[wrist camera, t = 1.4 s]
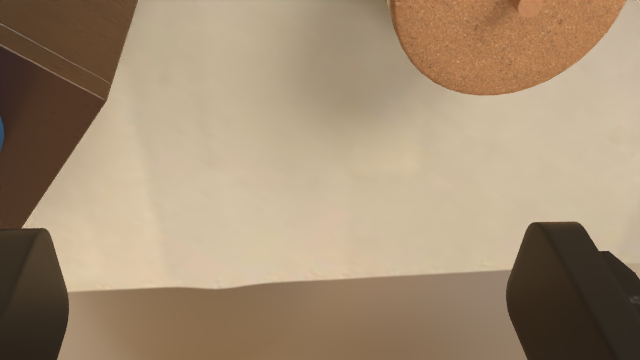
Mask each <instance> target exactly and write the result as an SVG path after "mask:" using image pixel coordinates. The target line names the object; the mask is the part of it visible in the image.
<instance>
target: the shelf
mask: <svg viewBox="0 0 640 360" xmlns="http://www.w3.org/2000/svg"><path fill="white" fill-rule="evenodd" d="M137 2H138V0H0V116H1V119H2V123H3V127H4V143H3V147H2V150H1V152H0V229H21V228H22V227H23V225H24V224H25V222H26V221H27V219H28V218H29V216H30V215H31V213H32V212H33V210H34V209H35V207H36V206H37V204H38V203H39V201H40V200H41V198H42V197H43V195H44V194H45V192H46V191H47V189H48V188H49V186H50V185H51V183H52V182H53V180H54V179H55V177H56V176H57V174H58V173H59V171H60V170H61V168H62V167H63V165H64V164H65V162H66V161H67V159H68V158H69V156H70V155H71V153H72V152H73V150H74V149H75V147H76V146H77V144H78V143H79V141H80V140H81V138H82V137H83V135H84V134H85V132H86V131H87V129H88V128H89V126H90V125H91V123H92V122H93V120H94V119H95V117H96V116H97V114H98V113H99V111H100V110H101V108H102V107H103V105H104V104H105V102H106V101H107V98H108V95H109V91H110V88H111V85H112V82H113V79H114V76H115V72H116V69H117V66H118V63H119V60H120V56H121V53H122V50H123V47H124V43H125V40H126V37H127V34H128V31H129V27H130V24H131V21H132V18H133V15H134V11H135V8H136V5H137Z"/></svg>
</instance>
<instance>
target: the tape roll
mask: <svg viewBox="0 0 640 360" xmlns="http://www.w3.org/2000/svg"><path fill="white" fill-rule="evenodd" d="M3 143H4V127H3V123H2V119H1V116H0V152H1V150H2V147H3Z"/></svg>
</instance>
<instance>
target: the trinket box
mask: <svg viewBox="0 0 640 360" xmlns="http://www.w3.org/2000/svg"><path fill="white" fill-rule="evenodd" d="M625 2H626V0H387V4H388V8H389V11H390V14H391V16H392V21H393V26H394V29H395V31H396V34H397V36H398V39H399V41H400V44H401V46H402V48H403V50H404V51H405V53H406V54H407V56H408V58H409V59H410V61H411V62H412V63H413V64H414V65H415V66H416V67H417V69H418V70H419V71H420V72H421V73H422V74H424V75H425V76H426V77H428V78H429V79H431V80H432V81H433V82H435V83H437V84H439V85H441V86H443V87H445V88H447V89H450V90H454V91H457V92H460V93H465V94H472V95H500V94H506V93H514V92H517V91H520V90H524V89H527V88H530V87H533V86H535V85H538V84H540V83H543V82H545V81H548V80H549V79H551V78H553V77H554V76H556V75H558V74H560V73H561V72H563V71H565V70H566V69H567V68H569V67H570V66H572V65H573V64H575V63H576V62H577V61H579V60H580V59H581V58H582V57H583V56H584V55H585V54H586V53H588V52H589V51H590V50H591V49H592V48H593V47H594V46H595V45H596V44H597V43H598V41H599V40H600V39H601V38H602V37H603V36H604V35H605V34H606V33H607V31H608V30H609V28H610V27H611V25H612V24H613V22H614V21H615V19H616V18H617V16H618V15H619V13H620V11H621V9H622V7H623V6H624V4H625Z"/></svg>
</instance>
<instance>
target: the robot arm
mask: <svg viewBox="0 0 640 360" xmlns="http://www.w3.org/2000/svg"><path fill="white" fill-rule="evenodd" d="M506 301H507V308H508V312H509V316H510V319H511V321H512V324H513V326H514V328H515V331H516V333H517V335H518V338H519V340H520V343H521V345H522V347H523V350H524V352H525V354H526V357H527V359H528V360H640V279H639V278H638V277H637V275H636V274H635V273H634V272H633V271H632V270H631V269H630V268H628V267H627V266H626V265H625V264H624V263H622V262H621V261H620V260H619V259H618V258H616V257H615V256H614V255H613V254H612V253H610V252H609V251H599V250H598V249H597V247H596V246H595V244H594V243H593V241H592V239H591V238H590V236H589V235H588V233H587V232H586V230H585V229H584V227H583V226H582V225H581V224H580V223H578V222H534V223H531V224H530V225H529V226H528V228H527V230H526V232H525V235H524V238H523V241H522V244H521V246H520V249H519V252H518V255H517V257H516V260H515V263H514V266H513V269H512V271H511V274H510V277H509V280H508V283H507V290H506ZM68 314H69V300H68V293H67V289H66V286H65V282H64V279H63V275H62V272H61V269H60V265H59V262H58V259H57V255H56V252H55V249H54V245H53V242H52V239H51V236H50V234H49V232H48V231H47V230H46V229H44V228H33V229H0V360H57V358H58V354H59V351H60V348H61V345H62V341H63V338H64V335H65V331H66V327H67V322H68Z"/></svg>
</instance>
